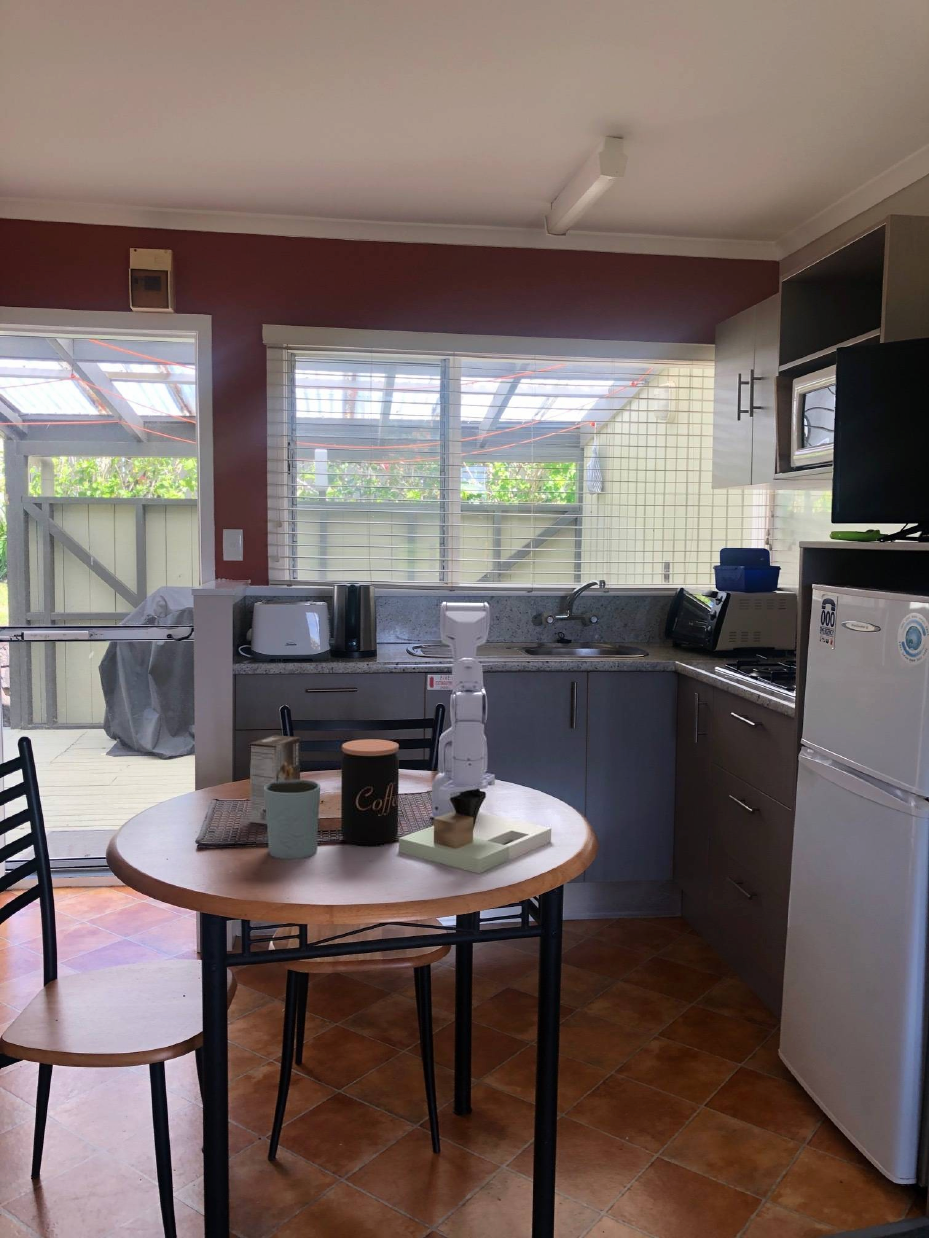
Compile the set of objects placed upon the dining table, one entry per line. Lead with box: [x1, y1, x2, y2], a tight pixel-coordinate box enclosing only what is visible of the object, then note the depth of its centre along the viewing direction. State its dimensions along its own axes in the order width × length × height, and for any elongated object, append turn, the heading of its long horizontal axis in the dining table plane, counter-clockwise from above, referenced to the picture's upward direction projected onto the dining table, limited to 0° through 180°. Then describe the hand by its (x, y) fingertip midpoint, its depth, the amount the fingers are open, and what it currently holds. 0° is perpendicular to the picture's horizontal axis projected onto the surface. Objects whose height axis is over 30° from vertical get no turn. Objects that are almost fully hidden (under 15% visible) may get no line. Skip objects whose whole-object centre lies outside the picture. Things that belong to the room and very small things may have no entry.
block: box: [433, 812, 473, 849], centre depth 167 cm, size 5×5×4 cm
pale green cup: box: [263, 779, 321, 860], centre depth 168 cm, size 10×10×12 cm
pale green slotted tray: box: [398, 812, 552, 875], centre depth 173 cm, size 18×23×2 cm
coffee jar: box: [340, 738, 400, 848], centre depth 176 cm, size 11×11×18 cm
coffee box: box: [249, 734, 301, 825], centre depth 188 cm, size 9×6×16 cm
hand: (466, 830), depth 170 cm, fingers closed
